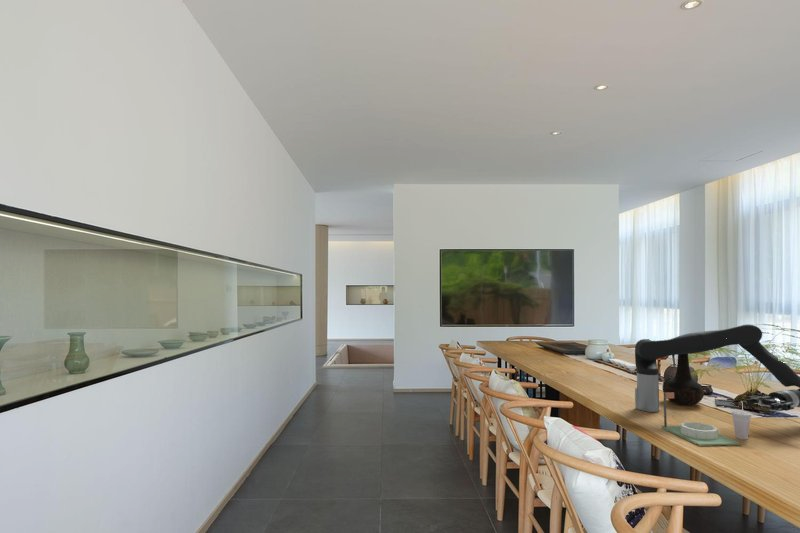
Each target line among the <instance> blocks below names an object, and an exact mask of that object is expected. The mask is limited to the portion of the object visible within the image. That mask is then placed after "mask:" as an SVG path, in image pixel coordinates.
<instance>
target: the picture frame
mask: <svg viewBox="0 0 800 533" xmlns="http://www.w3.org/2000/svg"><path fill="white" fill-rule="evenodd" d="M733 401H734V400H731V399H730V400H729V399H719V398H714V402H716V403H715V406H716V405H717V406H716V407H718V406H724V407H723V408H727V407H731V408H730V409H735V408H740V407H739V406H734V405H735V404H734V403H732V402H733Z"/></svg>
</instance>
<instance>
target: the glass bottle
mask: <svg viewBox="0 0 800 533" xmlns="http://www.w3.org/2000/svg"><path fill="white" fill-rule="evenodd" d="M664 392H665V393H672V392H674V398H669V399H668V400H669V401H670V402H671V403H673V404H676V405H679V406H688V407H689V406H690V407H691V406H694V405H698V404H699V403H700V402H701V401H702V400H703V399H704V396H705V390H704V388H703V387H702V385H701V384H700V383H699V382H698V381H696V380H695V379H693V377H692V374H691V370H690V362H689V354H679V355H677V364H676V373H675V376H673V377H672V378H671V377H668V378H666V379H665V380H664V381H663V383H662V393H663V394H664Z"/></svg>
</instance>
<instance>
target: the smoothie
mask: <svg viewBox="0 0 800 533" xmlns="http://www.w3.org/2000/svg"><path fill="white" fill-rule="evenodd" d="M740 402H741V403H742V409H741V410H731V411H730V412H731V413H730V414H731V417H732V421H733V428H734V433H735V438H736V439H739V440H748V438H749V430H750V425H751V424H750V423H751V418H752V414H751V413H750V412H747V411H744V409H743V402H744V401H740Z"/></svg>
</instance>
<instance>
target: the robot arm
mask: <svg viewBox="0 0 800 533" xmlns="http://www.w3.org/2000/svg"><path fill="white" fill-rule="evenodd" d="M762 337H763V332H762V330H761V329H760V328H759V327H758V326H756V325H754V324H749V323H747V324H746V323H745V324H742V325H738V326H735V327H729V328H726V329H724V328H723V329H717V330H706V331H705V330H704V331H697V332H691V333H685V334H681V335H678V336H675V337H673V338H669V339H662V340H652V339H651V340H650V339H646V338H643V339H640V340H638V341H637V342H636V343H635V345H634V346H635V347H634V362H635V368H636V387H635V388H634V395H635V396H634V400H635V401H634V402H635V403H634V404H635V405H634V408H635V409H637V410H639V411H642V412H647V413H649V412H650V413H656V412H657V413H659V411H660V388H659V385H660V384H659V383H660V382H659V380H660V378H659V377H660V376H659V367H658V365H657V359H661V358H665V357H668V356H676V355H677V356H678V355H679V354H688V355H690V354H691V355H692V354H697V353H698V354H699V353H705V352H709V351H713V350H717V349H721V348H723V347H728V346H734V345H736V346H737V345H739V346H740V347H741V348H742V349H744V350H745V351H746V352H747V353H749V354H750V355H751V356H752V357H754V358H755V359H756V360H757V361H758V362H759V363H760V364H761V365H762V366H763V367H765V368H766V369H767V370H768V372H770V374H772V376H774V377H775V379H776V380H777V381H778V382H780V383H781V385H782V386H784V387H787V388H788V387H797V388H798V389H785V390H779V391H778V390H777V391H772V392H770V393H768V394H767V395H766V396H760V395H749V396H747V399H746V400H745V402H746V403H747V405H753V404H758V405H760V406H761V407H770V410H772V411H779V412H784V411H791V410H794V409H795V408H800V376H799V374H797V373H796V372H795V371H794V370H793V368H791V367H790V366H789V365H788V364H787V363H786V362H785V363H783V362H784V361H783V362H781V361H778V358H779V357H778V356H776V355H775V354H773V353H772V352H770V351H769V350H768V349H767V348H765V346H763V344H762V343H761V342H760V340H762V339H763V338H762ZM726 338H727V339H726ZM755 402H757V403H755Z"/></svg>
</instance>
